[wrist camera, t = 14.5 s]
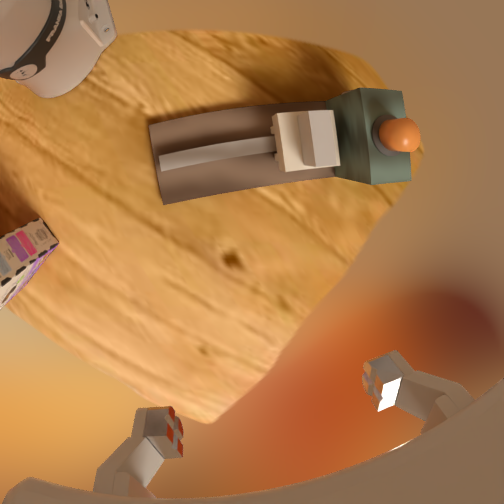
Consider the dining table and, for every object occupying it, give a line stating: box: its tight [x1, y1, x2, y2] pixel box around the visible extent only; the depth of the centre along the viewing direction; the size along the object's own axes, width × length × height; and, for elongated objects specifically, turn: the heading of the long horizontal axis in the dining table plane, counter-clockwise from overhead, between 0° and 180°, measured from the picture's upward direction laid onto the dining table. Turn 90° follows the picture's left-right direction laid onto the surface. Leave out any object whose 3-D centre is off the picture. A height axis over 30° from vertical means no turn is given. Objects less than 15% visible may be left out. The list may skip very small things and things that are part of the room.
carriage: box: [270, 110, 340, 172], centre depth 31 cm, size 7×7×9 cm
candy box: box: [0, 218, 59, 309], centre depth 29 cm, size 14×6×16 cm, turn 125°
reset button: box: [379, 118, 420, 152], centre depth 25 cm, size 4×4×3 cm
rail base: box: [149, 88, 411, 205], centre depth 31 cm, size 12×30×12 cm, turn 99°
